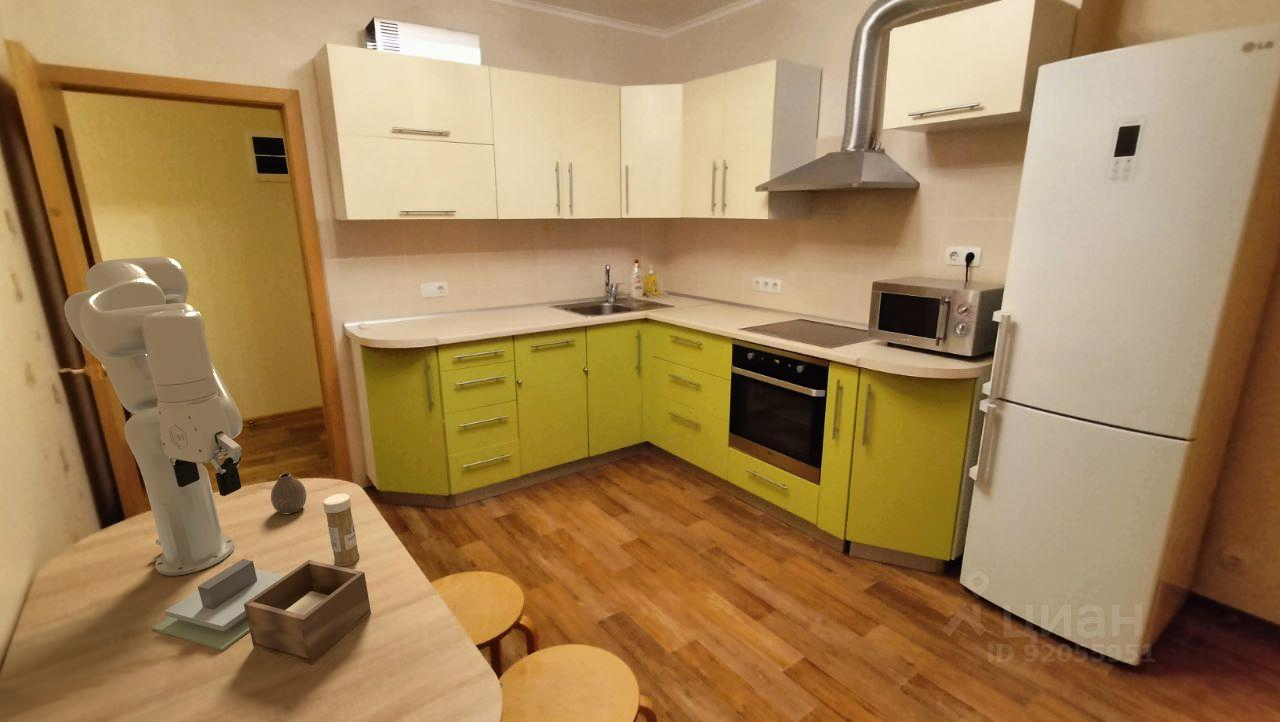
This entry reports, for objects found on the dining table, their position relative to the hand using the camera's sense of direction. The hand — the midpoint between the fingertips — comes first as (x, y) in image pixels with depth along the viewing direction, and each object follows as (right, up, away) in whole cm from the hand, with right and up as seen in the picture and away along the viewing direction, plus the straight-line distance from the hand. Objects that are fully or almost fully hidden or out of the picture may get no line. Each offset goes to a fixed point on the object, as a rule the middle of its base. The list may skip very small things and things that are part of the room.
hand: (209, 487), depth 96 cm
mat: (+1, -22, +5) cm, 23 cm away
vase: (-9, -14, +38) cm, 41 cm away
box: (+18, -23, -1) cm, 29 cm away
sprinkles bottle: (+14, -18, +18) cm, 29 cm away
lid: (+1, -22, +5) cm, 22 cm away
